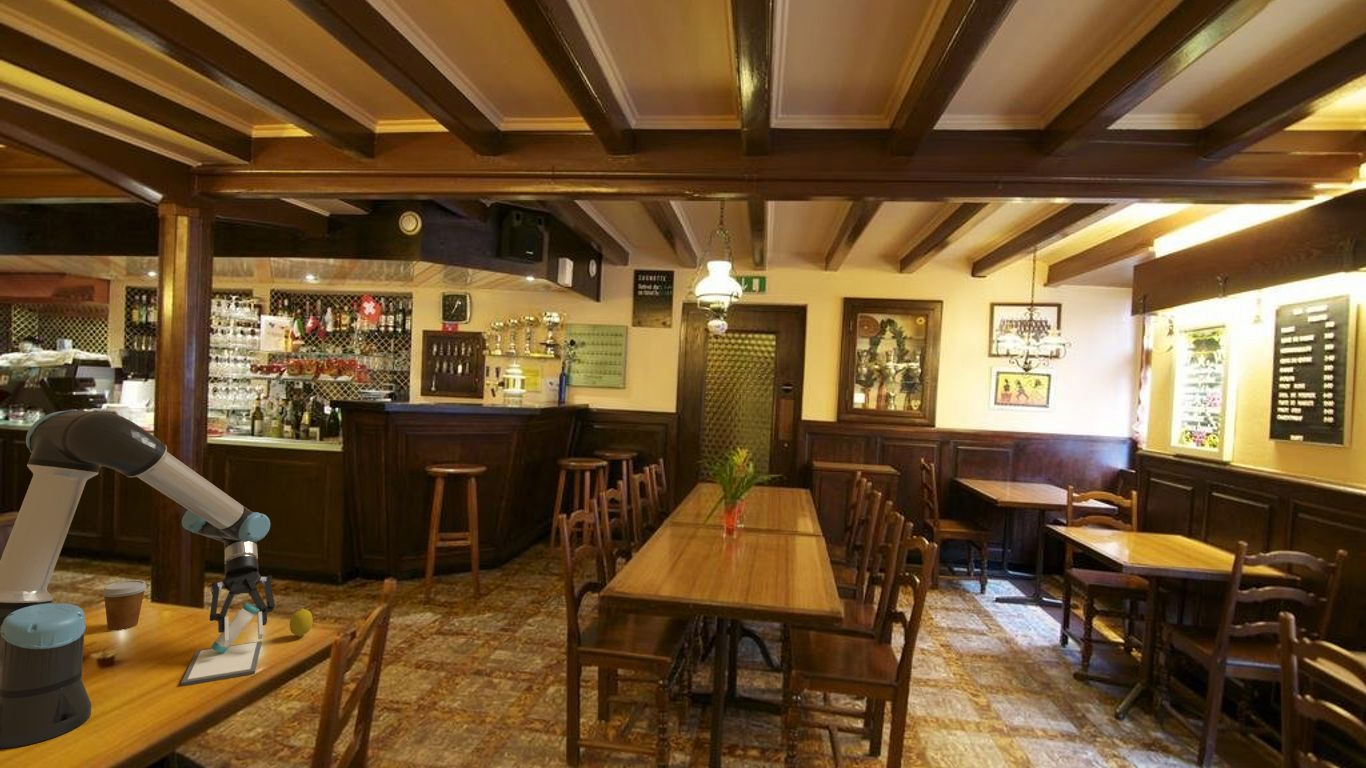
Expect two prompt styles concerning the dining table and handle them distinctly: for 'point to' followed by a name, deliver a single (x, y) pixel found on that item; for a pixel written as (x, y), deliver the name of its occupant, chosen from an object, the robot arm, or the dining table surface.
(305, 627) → the lemon
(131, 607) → the disposable coffee cup
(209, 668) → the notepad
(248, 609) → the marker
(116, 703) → the dining table surface
